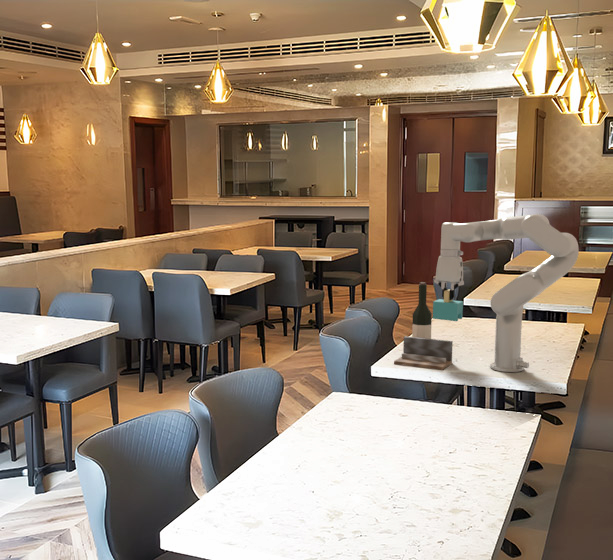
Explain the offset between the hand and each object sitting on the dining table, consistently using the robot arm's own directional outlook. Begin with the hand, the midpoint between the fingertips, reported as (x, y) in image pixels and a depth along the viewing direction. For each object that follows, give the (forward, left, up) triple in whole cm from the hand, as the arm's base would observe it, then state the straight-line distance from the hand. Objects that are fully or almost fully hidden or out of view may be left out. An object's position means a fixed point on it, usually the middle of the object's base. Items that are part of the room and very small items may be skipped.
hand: (448, 298), depth 282 cm
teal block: (0, 0, -8) cm, 8 cm away
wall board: (+4, +10, -25) cm, 28 cm away
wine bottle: (+16, -6, -26) cm, 31 cm away
